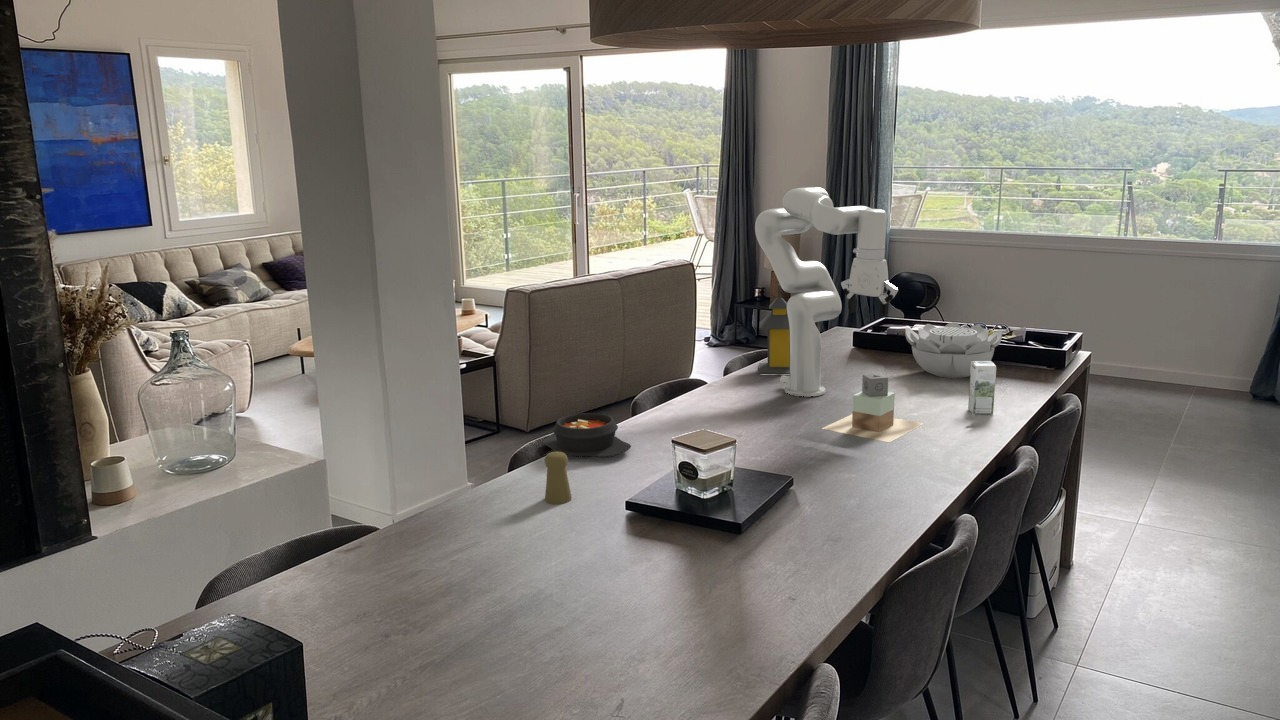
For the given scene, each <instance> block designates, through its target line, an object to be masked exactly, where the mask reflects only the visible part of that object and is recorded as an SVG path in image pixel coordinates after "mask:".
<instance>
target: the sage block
mask: <svg viewBox="0 0 1280 720" xmlns="http://www.w3.org/2000/svg"><path fill="white" fill-rule="evenodd" d="M895 394H896V393H895V392H892V391H891V392H890V391H888V396H878V397H869V396H867V395H866V394H864V393H862V390H861V391H858V392H857V393H855V394H853V395H852V412H853V411H855V412H860V413H866V414H871V415H877V416H881V415H883V414H885V413H887V412H889V411H891V410H893V409H894V410H895Z"/></svg>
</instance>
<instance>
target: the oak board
mask: <svg viewBox="0 0 1280 720" xmlns="http://www.w3.org/2000/svg"><path fill="white" fill-rule="evenodd" d="M924 424H925V423H923V422H917V421H911V420H907V419H901V418H895V417H894V420H893V426H891V427H889V428H887V429H885V430H883V431H881V432H875V431H870V430H865V429H859V428H854V427H852V413H851V414H850V415H847V416H845V417H843V418H841V419H839V420H836V421H835V422H832V423H830V424H828V425H826V426H824V427H822V428H821V430H825V431H831V432H836V433H840V434H845V435H850V436H855V437H860V438H865V439H870V440H873V441H874V440H875V441H880V442H885V443H891V442H893V441H895V440H897V439H899V438H901V437H903V436H904V435H906V434H909V433H910V432H911V431H913V430H916V429H917V428H919V427H920V426H922V425H924Z"/></svg>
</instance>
